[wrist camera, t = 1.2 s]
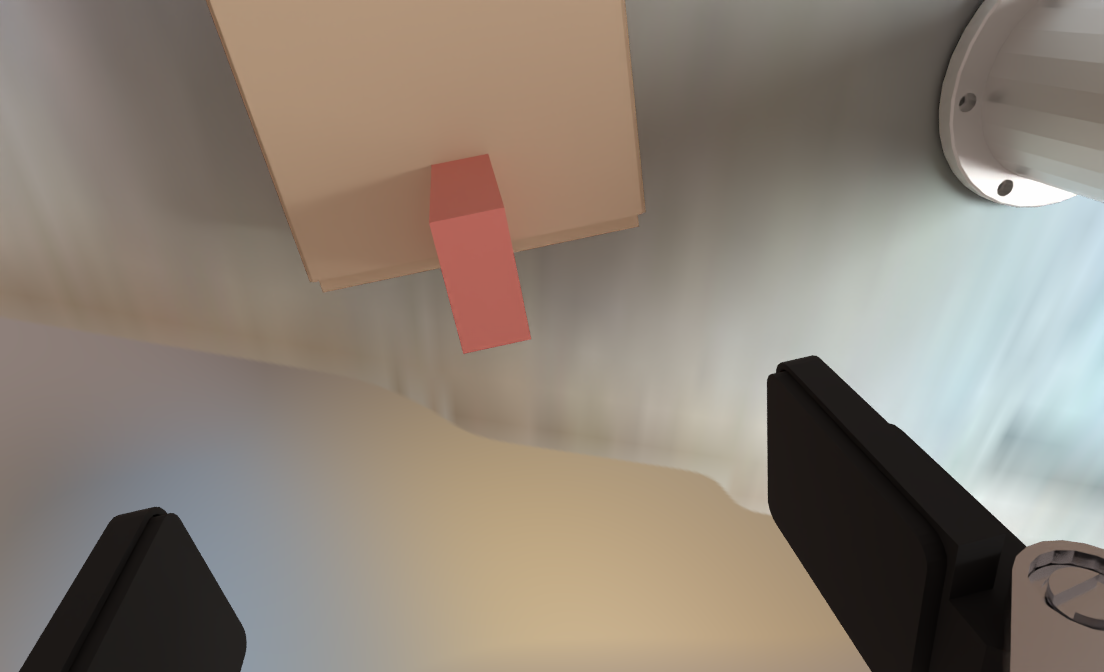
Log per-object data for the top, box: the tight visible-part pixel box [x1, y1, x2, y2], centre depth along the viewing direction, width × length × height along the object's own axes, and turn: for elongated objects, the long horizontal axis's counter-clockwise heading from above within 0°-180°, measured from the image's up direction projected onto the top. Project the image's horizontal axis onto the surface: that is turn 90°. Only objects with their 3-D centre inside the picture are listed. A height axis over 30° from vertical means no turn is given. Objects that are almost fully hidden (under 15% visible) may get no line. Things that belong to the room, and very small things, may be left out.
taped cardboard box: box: [210, 0, 642, 354], centre depth 19 cm, size 12×12×7 cm
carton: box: [206, 0, 646, 292], centre depth 26 cm, size 13×13×7 cm
